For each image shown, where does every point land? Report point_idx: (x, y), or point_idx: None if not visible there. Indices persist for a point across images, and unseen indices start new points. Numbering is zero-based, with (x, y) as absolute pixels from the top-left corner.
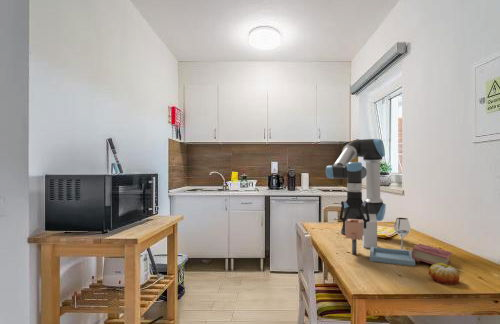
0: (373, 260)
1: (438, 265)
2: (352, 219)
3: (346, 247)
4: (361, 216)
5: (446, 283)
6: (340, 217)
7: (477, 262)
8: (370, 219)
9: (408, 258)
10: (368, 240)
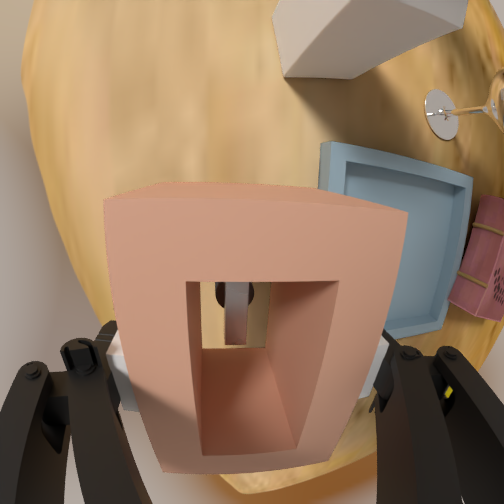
0: None
1: None
2: (210, 246)
3: (172, 101)
4: (379, 459)
5: None
6: (53, 433)
7: None
8: None
9: (444, 242)
10: (325, 62)
